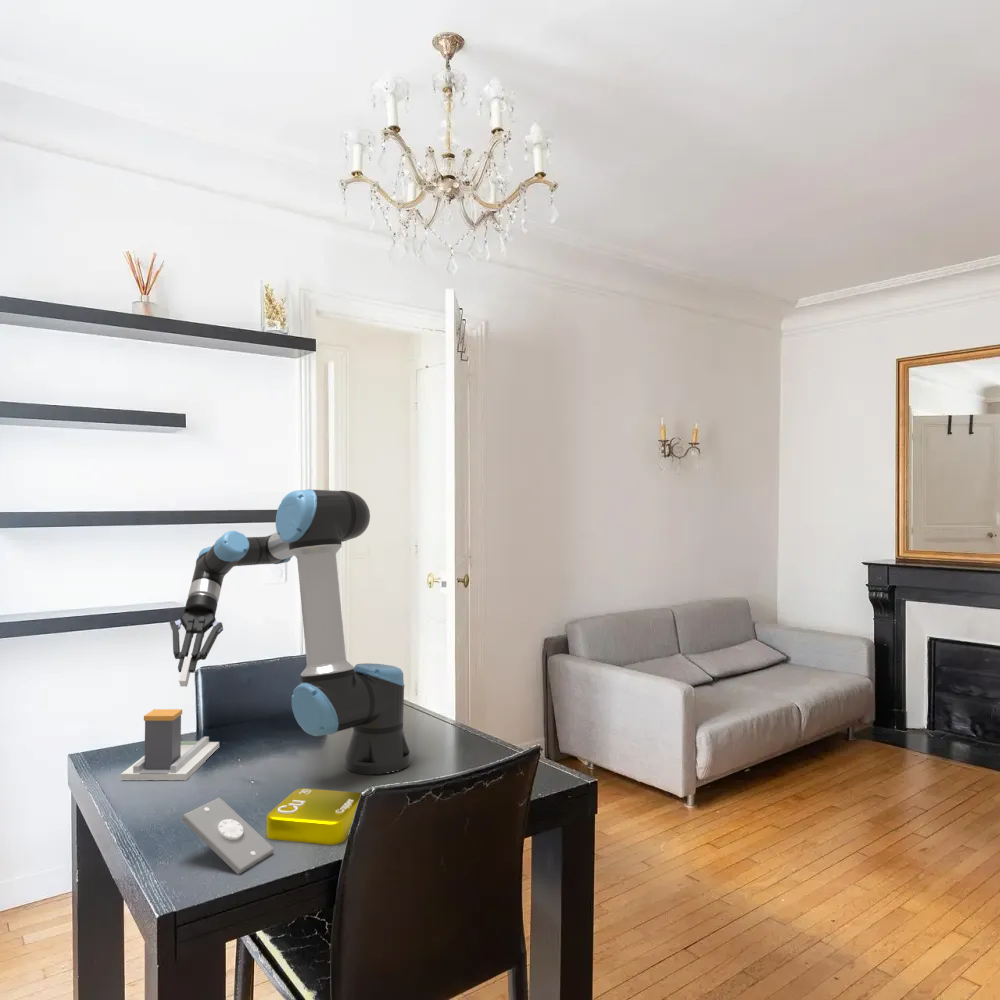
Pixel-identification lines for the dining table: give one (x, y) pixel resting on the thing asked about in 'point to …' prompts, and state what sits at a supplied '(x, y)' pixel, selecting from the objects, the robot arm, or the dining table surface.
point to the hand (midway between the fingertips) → (183, 683)
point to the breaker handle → (162, 738)
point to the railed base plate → (175, 763)
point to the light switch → (228, 835)
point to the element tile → (313, 816)
